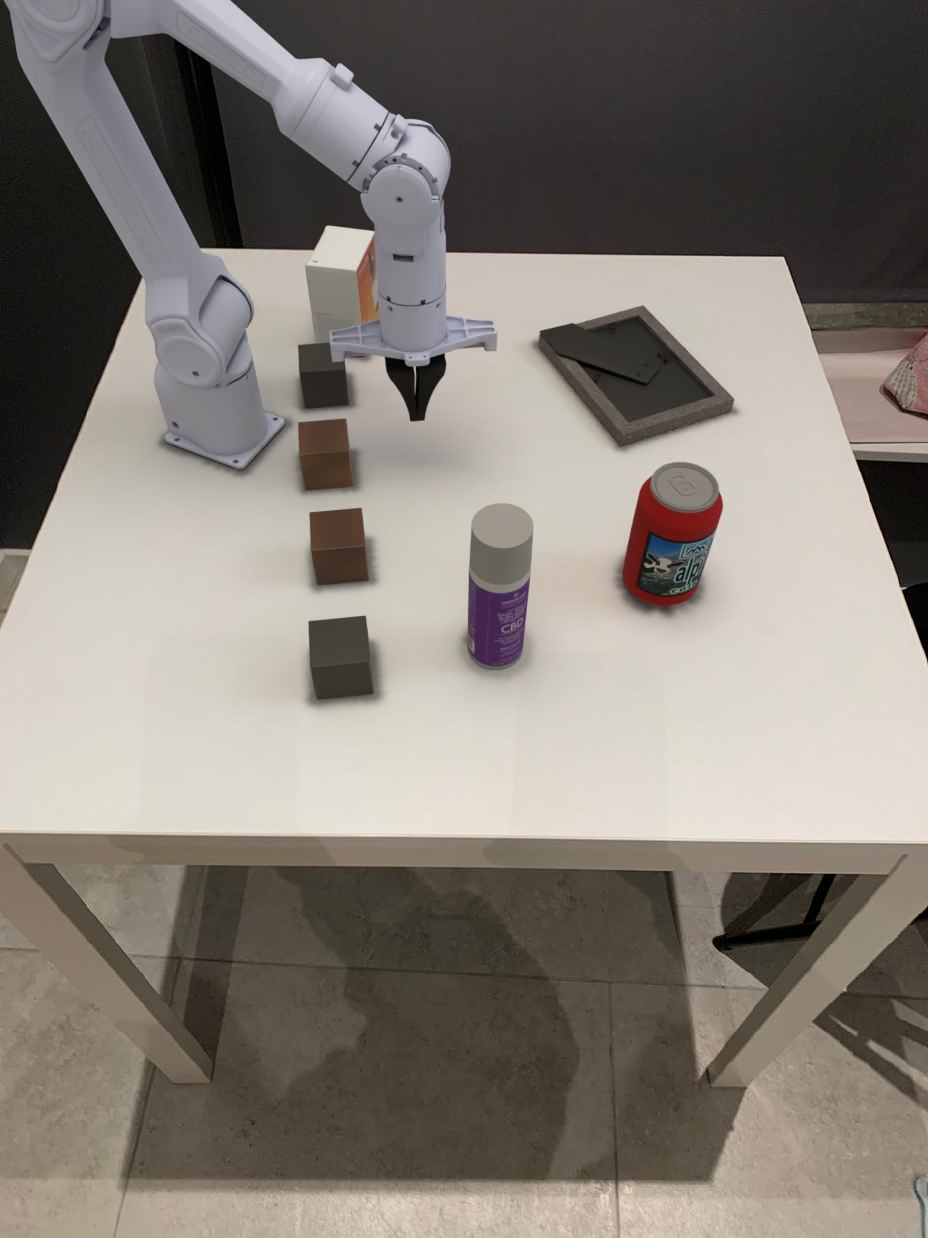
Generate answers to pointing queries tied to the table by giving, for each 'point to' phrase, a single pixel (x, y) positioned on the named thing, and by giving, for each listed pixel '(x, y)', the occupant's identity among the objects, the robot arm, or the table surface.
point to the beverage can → (672, 533)
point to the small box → (342, 281)
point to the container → (498, 584)
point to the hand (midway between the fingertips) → (416, 414)
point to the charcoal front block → (340, 657)
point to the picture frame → (634, 374)
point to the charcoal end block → (321, 377)
